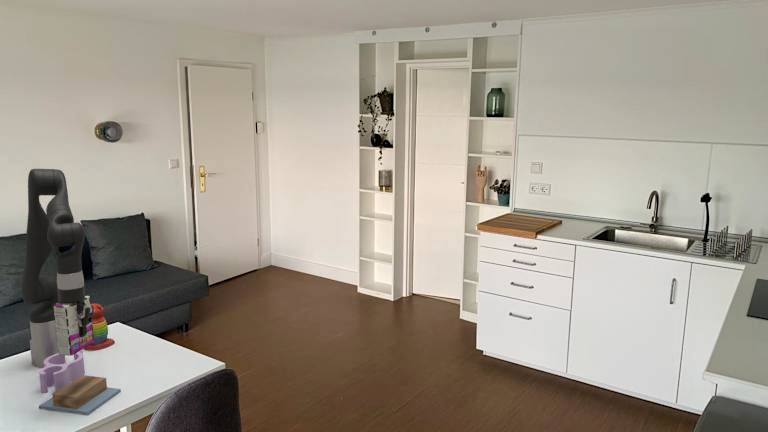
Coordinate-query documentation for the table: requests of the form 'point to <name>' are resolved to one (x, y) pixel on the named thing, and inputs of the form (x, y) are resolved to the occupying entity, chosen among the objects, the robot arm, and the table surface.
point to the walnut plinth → (79, 391)
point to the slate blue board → (87, 407)
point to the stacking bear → (99, 330)
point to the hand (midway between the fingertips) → (75, 335)
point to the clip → (61, 371)
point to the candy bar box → (71, 328)
